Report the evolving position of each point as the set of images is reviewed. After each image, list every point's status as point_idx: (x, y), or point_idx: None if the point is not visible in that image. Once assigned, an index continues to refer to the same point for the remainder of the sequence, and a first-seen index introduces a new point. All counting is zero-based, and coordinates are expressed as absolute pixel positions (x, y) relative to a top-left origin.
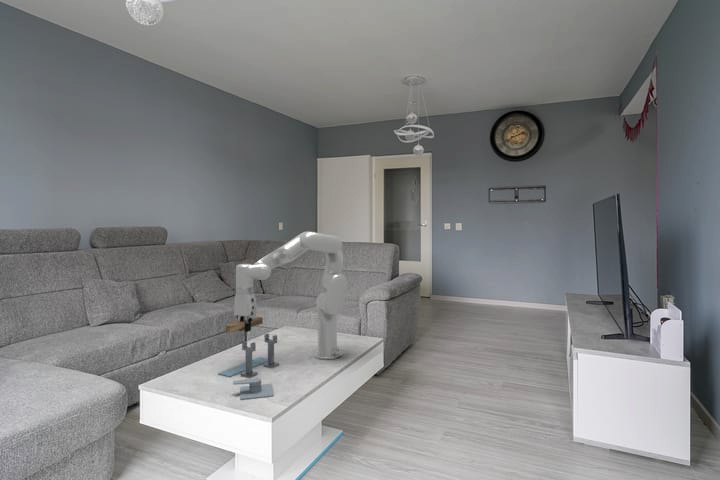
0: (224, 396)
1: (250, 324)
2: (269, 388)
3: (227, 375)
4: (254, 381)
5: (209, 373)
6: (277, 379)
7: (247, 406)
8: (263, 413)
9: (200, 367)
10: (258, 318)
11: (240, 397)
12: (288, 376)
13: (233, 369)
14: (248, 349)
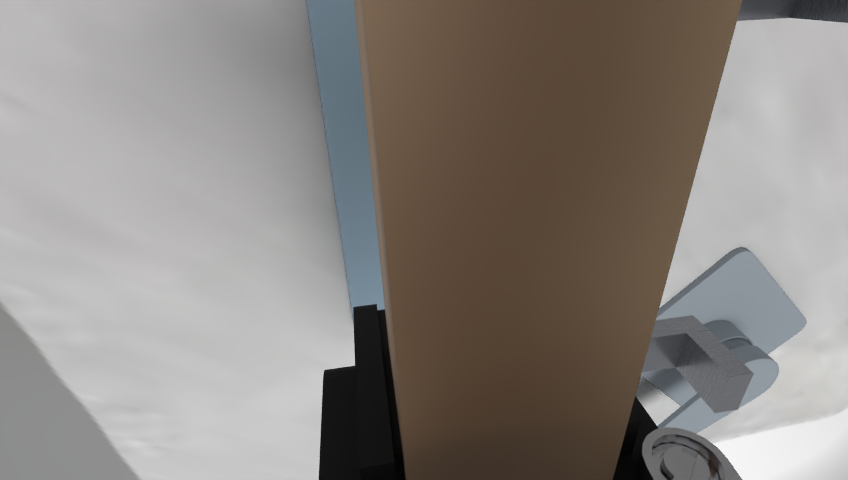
0: None
1: (639, 410)
2: (762, 293)
3: None
4: (756, 395)
5: (287, 340)
6: (742, 173)
7: (738, 415)
8: (815, 410)
9: (114, 321)
10: (731, 3)
11: (681, 405)
12: (794, 93)
13: (377, 238)
14: (646, 366)
